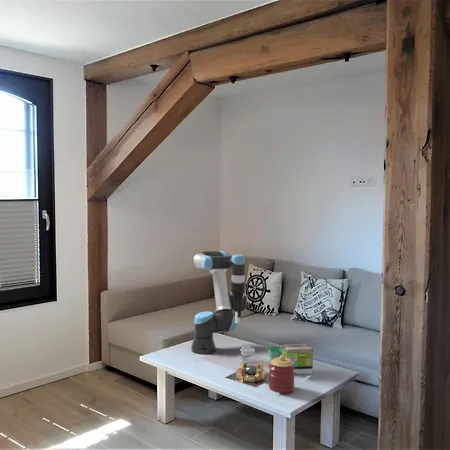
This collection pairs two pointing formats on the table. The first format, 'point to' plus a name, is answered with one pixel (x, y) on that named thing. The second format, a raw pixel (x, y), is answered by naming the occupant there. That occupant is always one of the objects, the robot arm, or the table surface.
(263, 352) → the table surface
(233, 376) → the cap plate
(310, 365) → the tea box
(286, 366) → the canister
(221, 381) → the table surface
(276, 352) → the mug
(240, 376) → the ring nut
